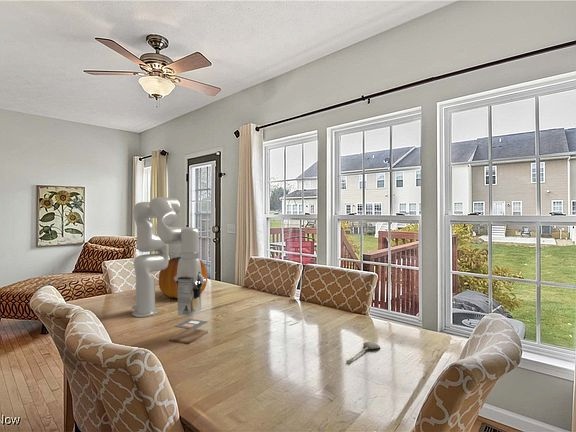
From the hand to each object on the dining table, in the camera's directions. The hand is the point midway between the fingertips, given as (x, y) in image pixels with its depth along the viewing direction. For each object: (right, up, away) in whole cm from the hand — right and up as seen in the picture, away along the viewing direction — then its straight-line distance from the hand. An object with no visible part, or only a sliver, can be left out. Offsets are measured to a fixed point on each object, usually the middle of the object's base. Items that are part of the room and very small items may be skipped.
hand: (189, 296), depth 137 cm
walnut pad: (0, -18, 0) cm, 18 cm away
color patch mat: (-4, -17, +15) cm, 24 cm away
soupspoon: (+72, -19, -15) cm, 76 cm away
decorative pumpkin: (-25, -17, +67) cm, 74 cm away
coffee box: (0, -7, 0) cm, 7 cm away
